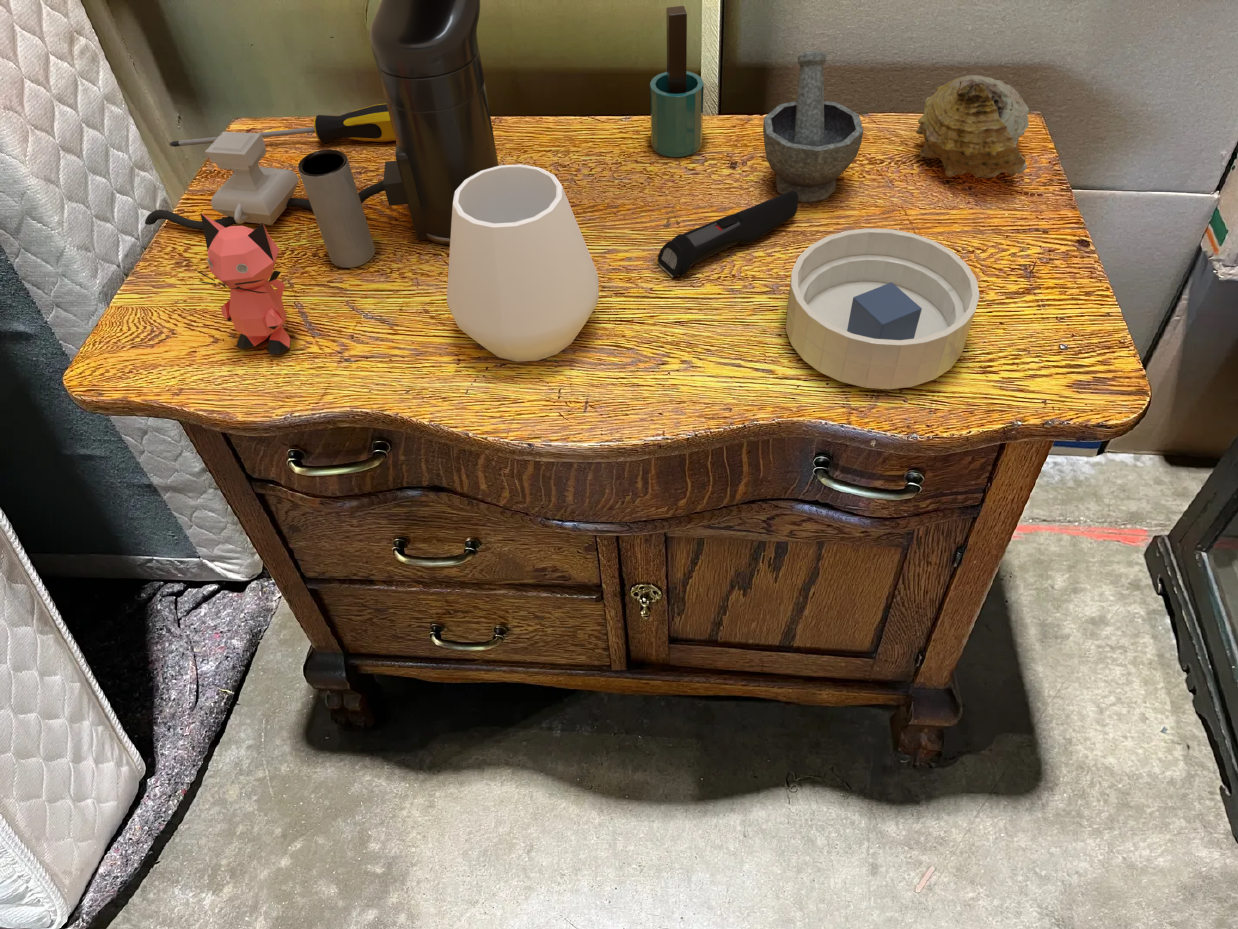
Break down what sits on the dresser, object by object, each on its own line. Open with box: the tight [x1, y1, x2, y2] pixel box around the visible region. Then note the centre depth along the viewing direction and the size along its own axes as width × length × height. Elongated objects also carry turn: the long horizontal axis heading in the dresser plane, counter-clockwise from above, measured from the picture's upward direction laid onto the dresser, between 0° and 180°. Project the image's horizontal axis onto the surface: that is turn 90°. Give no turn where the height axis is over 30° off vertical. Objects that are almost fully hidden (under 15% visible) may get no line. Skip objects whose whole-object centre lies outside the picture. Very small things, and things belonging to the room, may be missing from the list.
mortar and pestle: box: [762, 50, 864, 203], centre depth 90 cm, size 11×9×12 cm
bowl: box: [785, 227, 980, 390], centre depth 77 cm, size 15×15×6 cm
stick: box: [665, 5, 688, 94], centre depth 95 cm, size 2×2×14 cm
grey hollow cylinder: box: [297, 149, 376, 269], centre depth 87 cm, size 4×4×10 cm
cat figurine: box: [194, 212, 291, 355], centre depth 79 cm, size 7×7×12 cm
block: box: [847, 282, 922, 340], centre depth 77 cm, size 4×4×4 cm
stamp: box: [204, 131, 300, 226], centre depth 93 cm, size 9×7×8 cm
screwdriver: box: [169, 103, 396, 148], centre depth 104 cm, size 3×3×30 cm
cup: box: [446, 163, 600, 363], centre depth 77 cm, size 13×13×14 cm
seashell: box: [915, 74, 1030, 179], centre depth 94 cm, size 11×14×10 cm
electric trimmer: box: [657, 191, 799, 278], centre depth 88 cm, size 4×16×3 cm, turn 122°
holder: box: [649, 70, 705, 158], centre depth 98 cm, size 6×6×7 cm
